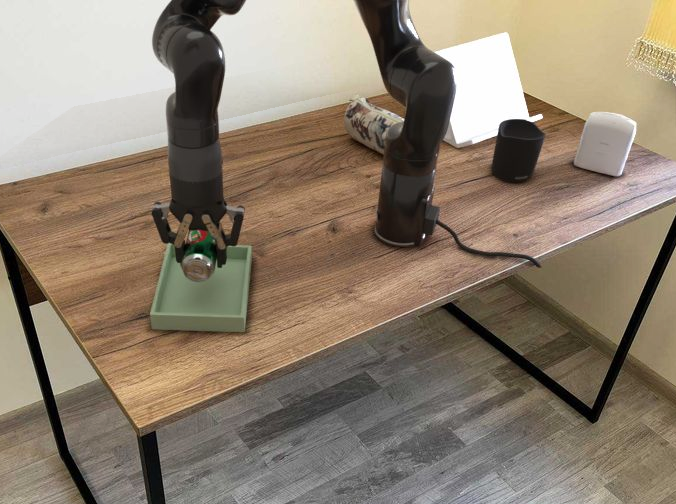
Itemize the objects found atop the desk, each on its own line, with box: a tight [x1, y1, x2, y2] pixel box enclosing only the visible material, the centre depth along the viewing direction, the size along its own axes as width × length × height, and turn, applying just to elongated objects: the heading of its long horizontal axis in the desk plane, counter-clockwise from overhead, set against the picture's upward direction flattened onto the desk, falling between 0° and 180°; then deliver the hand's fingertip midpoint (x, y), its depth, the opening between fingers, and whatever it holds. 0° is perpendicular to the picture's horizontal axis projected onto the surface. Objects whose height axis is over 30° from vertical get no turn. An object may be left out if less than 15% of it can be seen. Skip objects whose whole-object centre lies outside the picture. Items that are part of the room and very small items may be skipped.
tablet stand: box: [434, 32, 543, 149], centre depth 167 cm, size 18×25×17 cm
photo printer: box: [573, 111, 637, 177], centre depth 156 cm, size 10×4×12 cm, turn 63°
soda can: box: [181, 229, 217, 283], centre depth 115 cm, size 5×5×12 cm
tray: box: [149, 242, 253, 333], centre depth 120 cm, size 19×14×3 cm
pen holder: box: [491, 119, 547, 184], centre depth 153 cm, size 9×9×10 cm
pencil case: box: [343, 94, 404, 156], centre depth 157 cm, size 22×8×10 cm, turn 43°
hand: (202, 264), depth 116 cm, fingers closed on soda can, 5 cm apart
